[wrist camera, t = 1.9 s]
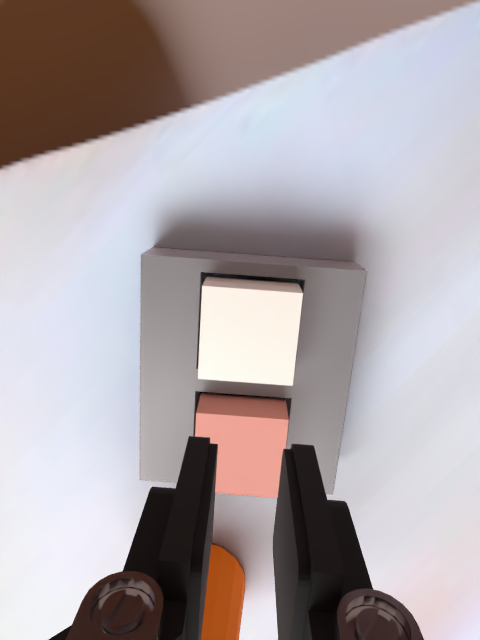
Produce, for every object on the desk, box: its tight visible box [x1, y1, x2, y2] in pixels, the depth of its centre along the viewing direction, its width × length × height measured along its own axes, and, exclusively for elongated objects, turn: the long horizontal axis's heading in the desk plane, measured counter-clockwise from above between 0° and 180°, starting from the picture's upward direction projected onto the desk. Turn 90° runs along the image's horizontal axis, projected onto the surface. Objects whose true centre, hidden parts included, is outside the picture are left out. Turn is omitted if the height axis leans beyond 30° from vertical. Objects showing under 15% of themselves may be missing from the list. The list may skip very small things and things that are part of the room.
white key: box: [198, 277, 303, 386], centre depth 24 cm, size 5×5×2 cm
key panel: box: [140, 247, 367, 494], centre depth 27 cm, size 12×14×3 cm
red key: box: [195, 393, 289, 498], centre depth 26 cm, size 5×5×2 cm
